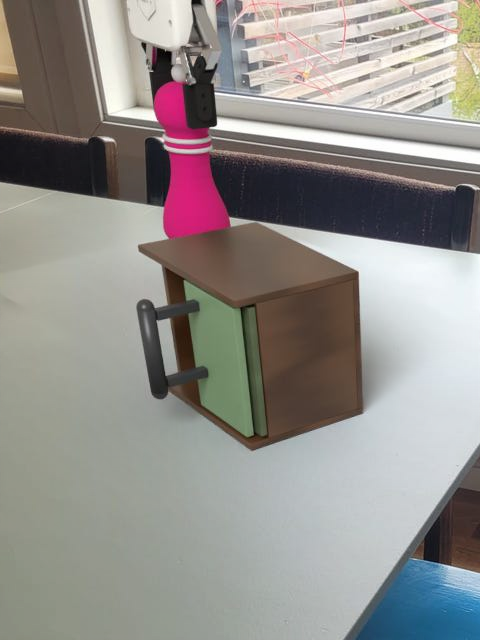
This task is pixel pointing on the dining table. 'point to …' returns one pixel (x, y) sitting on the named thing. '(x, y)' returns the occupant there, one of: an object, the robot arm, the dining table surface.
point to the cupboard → (272, 325)
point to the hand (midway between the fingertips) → (185, 118)
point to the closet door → (203, 354)
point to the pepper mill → (187, 167)
